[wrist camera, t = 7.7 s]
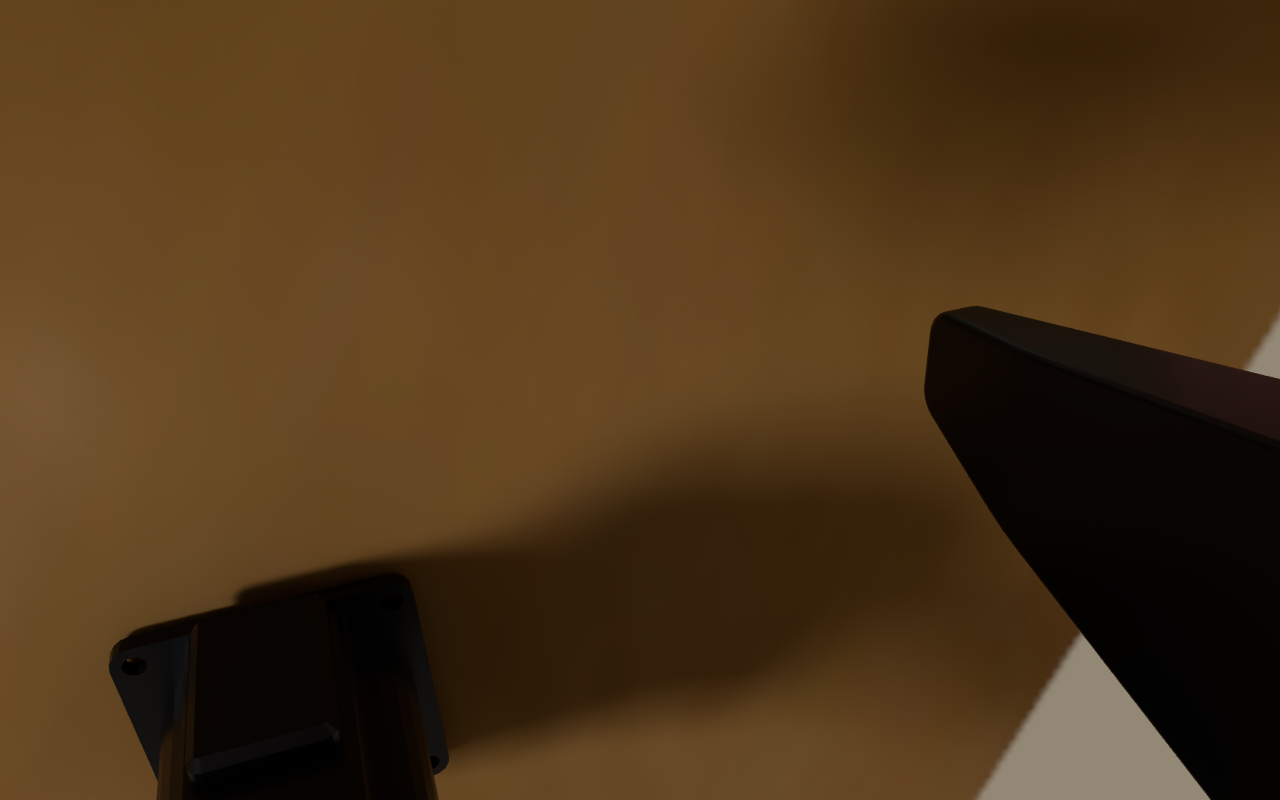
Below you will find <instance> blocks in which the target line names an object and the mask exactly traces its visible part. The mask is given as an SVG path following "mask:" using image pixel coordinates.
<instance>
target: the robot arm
mask: <svg viewBox="0 0 1280 800" xmlns="http://www.w3.org/2000/svg"><path fill="white" fill-rule="evenodd" d="M924 394H925V400H926V404H927V407H928V409H929V411H930V413H931V415H932V417H933V419H934V420H935V422H936V424H937V425H938V427H939V428H940V430H941V432H942V433H943V435H944V437H945V438H946V440H947V442H948V443H949V445H950V446H951V448H952V450H953V451H954V453H955V455H956V456H957V458H958V460H959V461H960V463H961V465H962V466H963V468H964V469H965V471H966V473H967V474H968V476H969V478H970V479H971V481H972V483H973V484H974V486H975V487H976V489H977V491H978V492H979V494H980V496H981V497H982V499H983V501H984V502H985V504H986V505H987V507H988V509H989V510H990V512H991V513H992V515H993V516H994V518H995V519H996V521H997V522H998V524H999V525H1000V527H1001V529H1002V530H1003V531H1004V533H1005V534H1006V535H1007V537H1008V538H1009V540H1010V541H1011V542H1012V544H1013V545H1014V546H1015V548H1016V549H1017V550H1018V552H1019V553H1020V554H1021V556H1022V557H1023V558H1024V559H1025V561H1026V562H1027V563H1028V565H1029V566H1030V567H1031V568H1032V570H1033V571H1034V572H1035V574H1036V575H1037V576H1038V577H1039V579H1040V580H1041V581H1042V583H1043V584H1044V585H1045V587H1046V588H1047V589H1048V590H1049V592H1050V593H1051V594H1052V596H1053V597H1054V598H1055V599H1056V601H1057V602H1058V603H1059V605H1060V606H1061V607H1062V608H1063V610H1064V611H1065V612H1066V614H1067V615H1068V616H1069V618H1070V619H1071V620H1072V621H1073V623H1074V624H1075V625H1076V627H1077V628H1078V629H1079V630H1080V632H1081V633H1082V634H1083V636H1084V637H1085V638H1086V639H1087V641H1088V642H1089V643H1090V645H1091V646H1092V647H1093V648H1094V650H1095V651H1096V652H1097V654H1098V655H1099V656H1100V658H1101V659H1102V660H1103V661H1104V663H1105V664H1106V665H1107V667H1108V668H1109V669H1110V670H1111V672H1112V673H1113V674H1114V676H1115V677H1116V678H1117V679H1118V681H1119V682H1120V683H1121V685H1122V686H1123V687H1124V689H1125V690H1126V691H1127V692H1128V694H1129V695H1130V696H1131V698H1132V699H1133V700H1134V701H1135V703H1136V704H1137V705H1138V707H1140V709H1141V710H1142V712H1143V713H1144V714H1145V716H1146V717H1147V718H1148V720H1149V721H1150V722H1151V723H1152V725H1153V726H1154V727H1155V729H1156V730H1157V731H1158V732H1159V734H1160V735H1161V736H1162V738H1163V739H1164V740H1165V742H1166V743H1167V744H1168V745H1169V747H1170V748H1171V749H1172V751H1173V752H1174V753H1175V754H1176V756H1177V757H1178V758H1179V759H1180V761H1181V762H1182V763H1183V765H1184V766H1185V767H1186V769H1187V770H1188V771H1189V773H1190V774H1191V775H1192V776H1193V778H1194V779H1195V780H1196V781H1197V783H1198V784H1199V785H1200V787H1201V788H1202V789H1203V791H1204V792H1205V793H1206V794H1207V796H1208V797H1209V798H1210V800H1280V379H1278V378H1273V377H1269V376H1265V375H1261V374H1257V373H1253V372H1249V371H1245V370H1241V369H1236V368H1232V367H1228V366H1224V365H1220V364H1216V363H1212V362H1208V361H1204V360H1199V359H1195V358H1191V357H1187V356H1183V355H1179V354H1175V353H1171V352H1167V351H1162V350H1158V349H1154V348H1150V347H1146V346H1142V345H1138V344H1134V343H1130V342H1125V341H1121V340H1117V339H1113V338H1109V337H1105V336H1101V335H1097V334H1093V333H1088V332H1084V331H1080V330H1076V329H1072V328H1068V327H1064V326H1060V325H1056V324H1051V323H1047V322H1043V321H1039V320H1035V319H1031V318H1027V317H1023V316H1019V315H1014V314H1010V313H1006V312H1002V311H998V310H994V309H990V308H986V307H981V306H970V307H965V308H960V309H956V310H951V311H946V312H943V313H940V314H939V315H938V316H937V317H936V318H935V319H934V321H933V323H932V325H931V330H930V338H929V347H928V356H927V365H926V374H925V383H924ZM393 593H396V594H399V595H398V597H396V598H394V599H388V600H386V599H383V598H384V596H386V595H388V594H393ZM137 657H138V658H141V659H144V660H143V661H141V662H135V663H132V662H129V661H127V659H130V658H137ZM109 671H110V675H111V677H112V679H113V681H114V684H115V686H116V688H117V690H118V693H119V695H120V697H121V699H122V702H123V704H124V706H125V708H126V711H127V713H128V715H129V717H130V720H131V722H132V724H133V726H134V729H135V731H136V733H137V735H138V738H139V740H140V742H141V744H142V747H143V749H144V751H145V753H146V756H147V758H148V760H149V762H150V765H151V767H152V769H153V771H154V774H155V776H156V778H157V780H158V787H157V800H439V799H438V794H437V789H436V784H435V779H434V775H435V774H438V773H440V772H441V771H442V770H443V769H445V768H446V766H447V764H448V763H449V755H448V751H447V746H446V741H445V737H444V732H443V727H442V723H441V718H440V714H439V709H438V704H437V700H436V695H435V691H434V686H433V681H432V677H431V672H430V668H429V663H428V658H427V654H426V649H425V644H424V640H423V635H422V631H421V626H420V621H419V617H418V612H417V608H416V603H415V598H414V594H413V589H412V585H411V583H410V581H409V580H408V579H407V578H406V577H404V576H403V575H398V574H386V575H382V576H378V577H374V578H369V579H365V580H361V581H357V582H353V583H349V584H345V585H341V586H337V587H333V588H328V589H324V590H320V591H316V592H312V593H308V594H304V595H300V596H296V597H291V598H287V599H283V600H279V601H275V602H271V603H267V604H263V605H259V606H254V607H250V608H246V609H242V610H238V611H234V612H230V613H226V614H222V615H217V616H213V617H209V618H205V619H201V620H197V621H193V622H189V623H185V624H180V625H176V626H172V627H168V628H164V629H160V630H156V631H152V632H148V633H144V634H139V635H135V636H131V637H128V638H125V639H123V640H120V641H119V642H118V643H117V644H116V645H114V646H113V648H112V651H111V653H110V661H109ZM430 756H431V757H430Z"/></svg>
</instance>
